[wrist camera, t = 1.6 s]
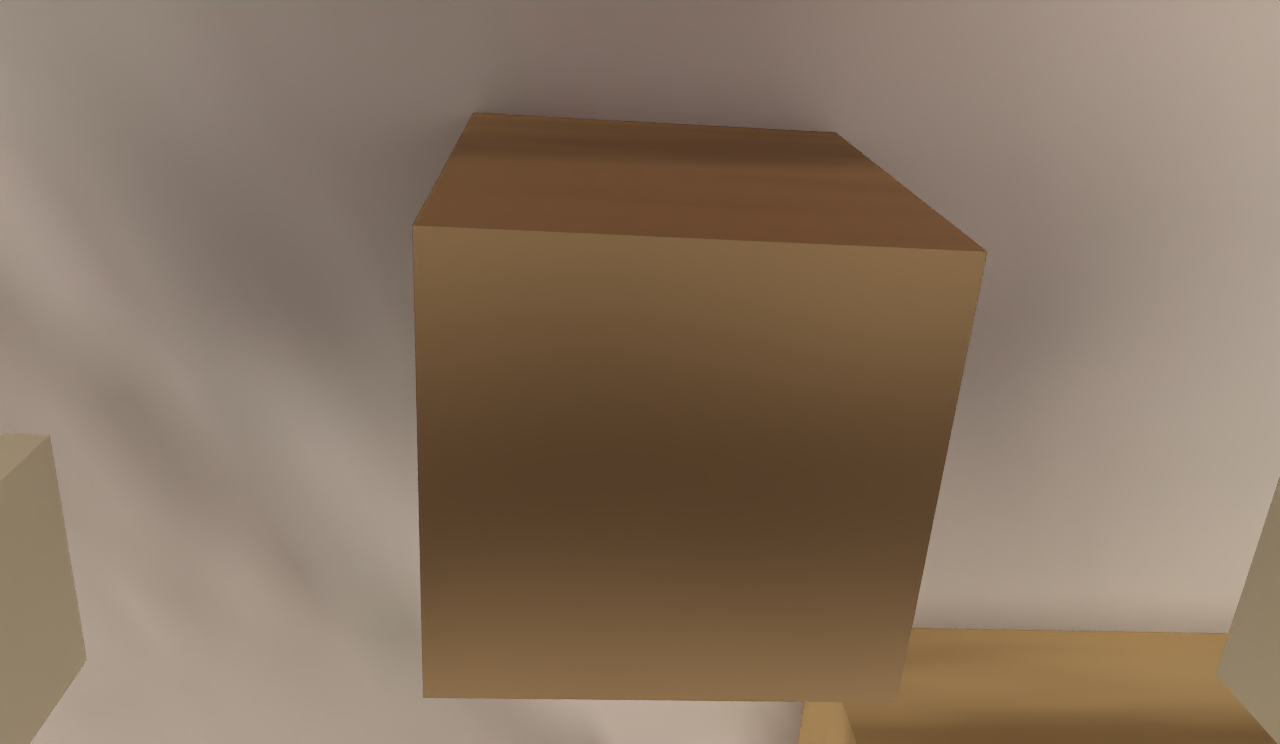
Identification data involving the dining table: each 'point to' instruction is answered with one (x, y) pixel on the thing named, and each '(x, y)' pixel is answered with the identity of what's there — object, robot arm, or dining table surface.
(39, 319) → the dining table surface
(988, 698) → the oak pedestal
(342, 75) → the dining table surface
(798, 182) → the walnut block
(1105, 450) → the dining table surface
